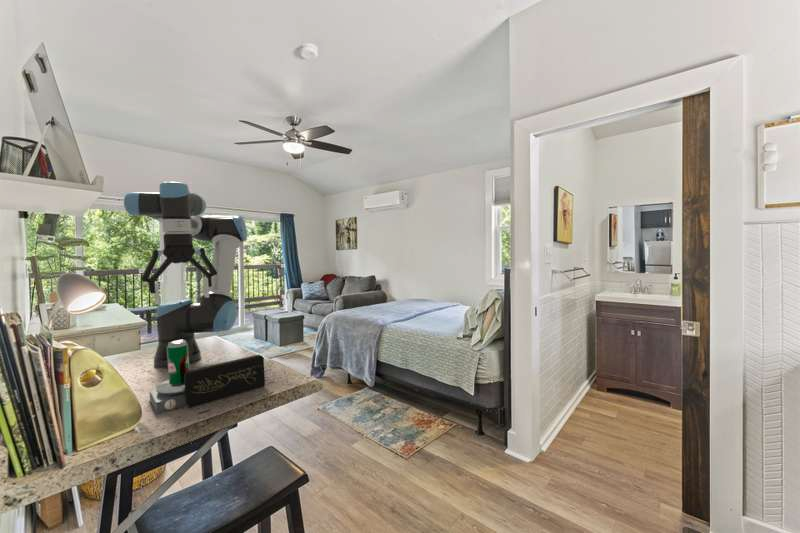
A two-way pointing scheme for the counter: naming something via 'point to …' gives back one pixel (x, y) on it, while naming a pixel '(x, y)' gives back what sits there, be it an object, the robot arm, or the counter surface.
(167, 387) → the scale pan
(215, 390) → the nameplate
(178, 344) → the soda can
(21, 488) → the counter surface
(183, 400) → the scale base
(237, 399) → the counter surface
